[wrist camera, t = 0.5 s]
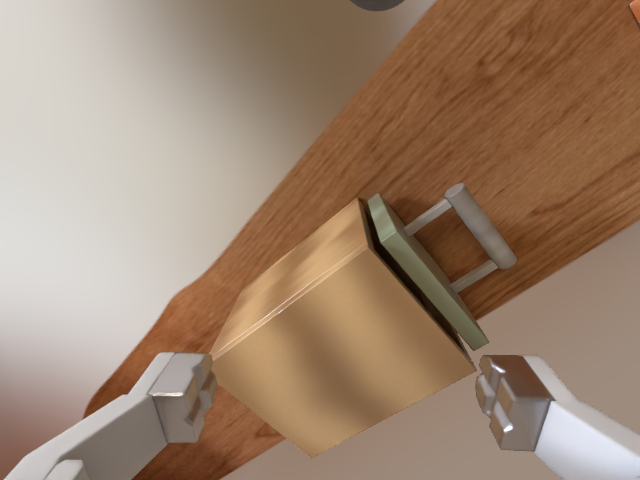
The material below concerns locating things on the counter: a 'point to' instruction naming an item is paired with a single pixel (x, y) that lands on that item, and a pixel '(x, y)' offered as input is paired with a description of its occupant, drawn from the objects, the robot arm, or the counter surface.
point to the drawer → (423, 270)
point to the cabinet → (334, 339)
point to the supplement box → (636, 9)
